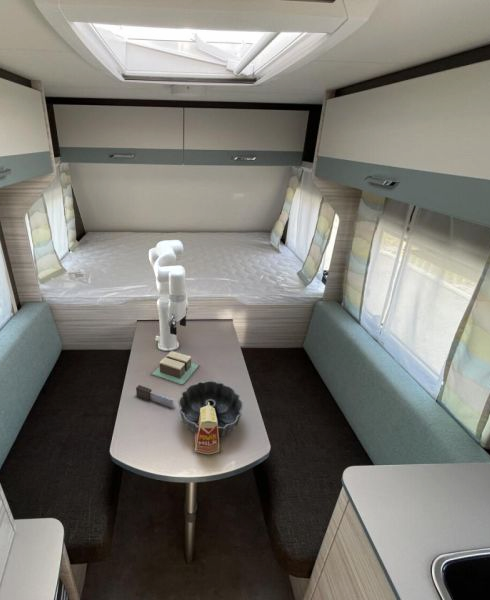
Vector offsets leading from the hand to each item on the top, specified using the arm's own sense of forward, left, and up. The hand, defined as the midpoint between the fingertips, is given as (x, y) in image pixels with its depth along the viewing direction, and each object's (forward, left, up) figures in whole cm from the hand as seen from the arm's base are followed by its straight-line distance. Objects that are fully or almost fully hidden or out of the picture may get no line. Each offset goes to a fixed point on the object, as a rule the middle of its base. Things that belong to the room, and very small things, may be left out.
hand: (178, 329), depth 157 cm
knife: (0, -22, -26) cm, 35 cm away
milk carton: (+32, -34, -26) cm, 53 cm away
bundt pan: (+28, -22, -25) cm, 44 cm away
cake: (-3, +3, -26) cm, 27 cm away
